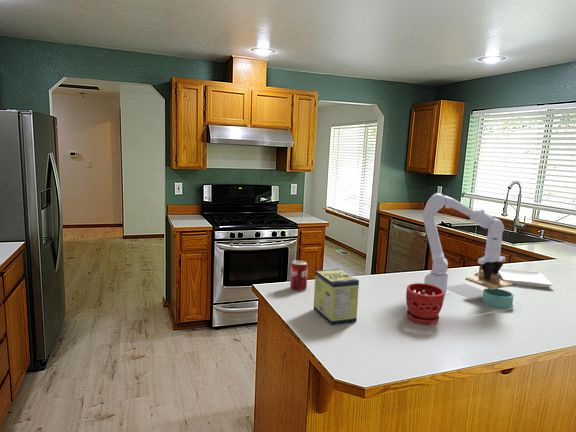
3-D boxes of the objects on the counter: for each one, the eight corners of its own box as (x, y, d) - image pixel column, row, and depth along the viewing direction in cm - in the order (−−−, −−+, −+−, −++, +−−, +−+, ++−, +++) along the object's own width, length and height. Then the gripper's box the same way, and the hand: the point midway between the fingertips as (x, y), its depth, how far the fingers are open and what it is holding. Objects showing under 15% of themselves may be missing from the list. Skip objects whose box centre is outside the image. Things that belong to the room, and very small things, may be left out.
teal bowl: (499, 310, 164) (501, 298, 163) (476, 301, 174) (477, 290, 173) (518, 307, 169) (519, 295, 168) (494, 298, 178) (495, 287, 178)
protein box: (336, 306, 162) (339, 268, 159) (357, 322, 147) (360, 280, 145) (312, 309, 158) (314, 270, 155) (331, 325, 144) (333, 282, 141)
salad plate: (502, 285, 198) (503, 278, 198) (494, 273, 218) (495, 267, 218) (552, 291, 192) (553, 284, 192) (539, 278, 212) (540, 272, 212)
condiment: (494, 275, 214) (497, 253, 212) (488, 278, 208) (490, 255, 206) (480, 272, 219) (482, 250, 217) (473, 275, 213) (476, 252, 211)
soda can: (307, 286, 184) (308, 260, 182) (306, 292, 177) (307, 265, 175) (290, 285, 184) (291, 259, 183) (289, 291, 177) (290, 264, 175)
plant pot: (397, 314, 156) (399, 284, 154) (425, 311, 160) (428, 281, 158) (419, 329, 144) (422, 296, 142) (449, 324, 148) (452, 292, 146)
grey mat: (469, 299, 176) (469, 298, 176) (442, 288, 189) (442, 287, 189) (493, 295, 182) (493, 294, 182) (465, 284, 196) (465, 283, 196)
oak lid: (491, 289, 166) (493, 279, 166) (465, 279, 178) (466, 270, 177) (512, 285, 172) (514, 275, 171) (485, 276, 183) (486, 267, 183)
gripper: (490, 251, 165) (486, 283, 168) (513, 248, 172) (509, 279, 174) (475, 247, 172) (471, 278, 174) (498, 244, 178) (494, 275, 180)
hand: (489, 278), depth 174 cm, fingers closed on oak lid, 3 cm apart
